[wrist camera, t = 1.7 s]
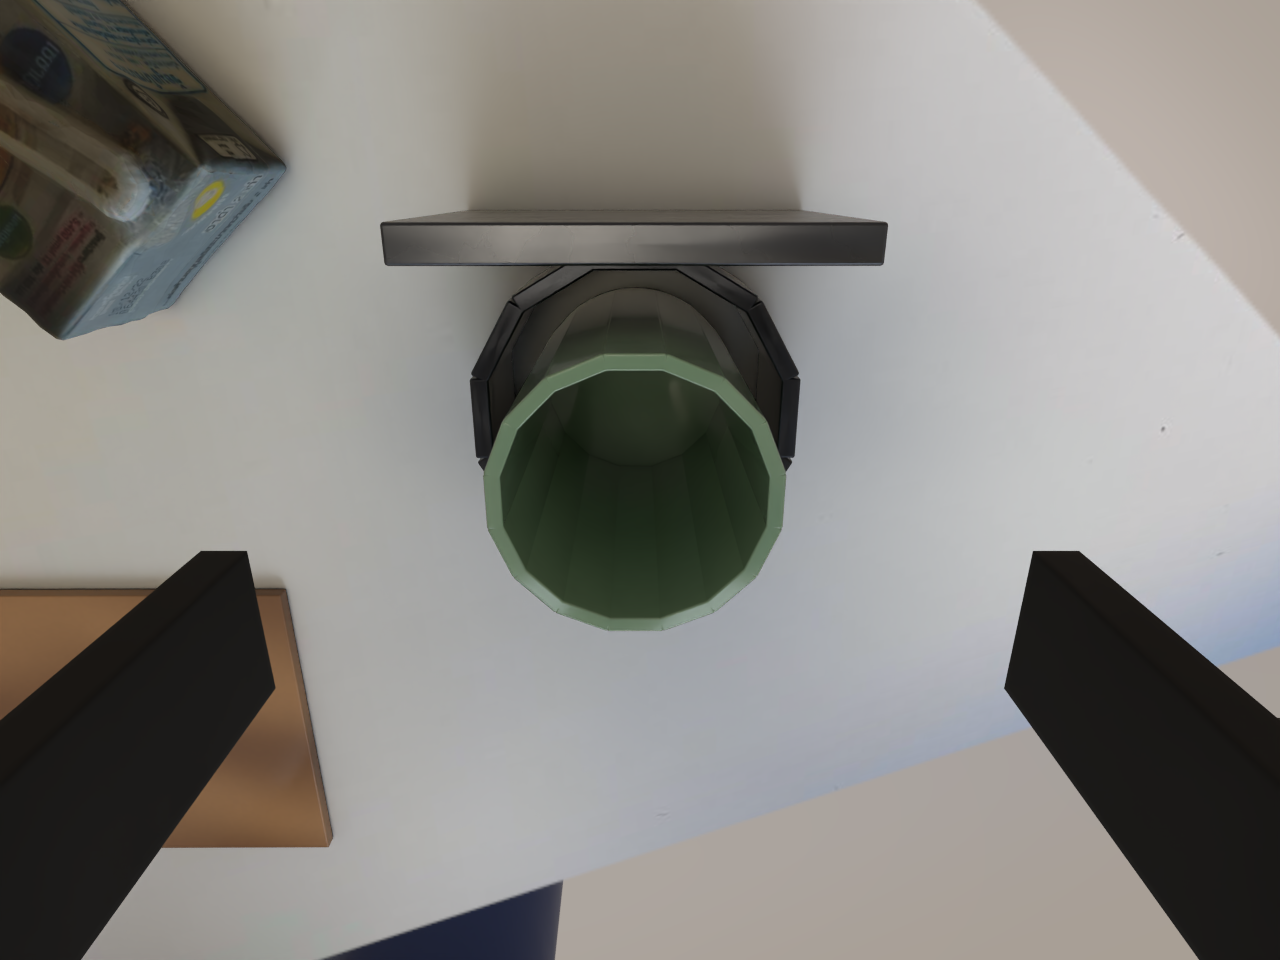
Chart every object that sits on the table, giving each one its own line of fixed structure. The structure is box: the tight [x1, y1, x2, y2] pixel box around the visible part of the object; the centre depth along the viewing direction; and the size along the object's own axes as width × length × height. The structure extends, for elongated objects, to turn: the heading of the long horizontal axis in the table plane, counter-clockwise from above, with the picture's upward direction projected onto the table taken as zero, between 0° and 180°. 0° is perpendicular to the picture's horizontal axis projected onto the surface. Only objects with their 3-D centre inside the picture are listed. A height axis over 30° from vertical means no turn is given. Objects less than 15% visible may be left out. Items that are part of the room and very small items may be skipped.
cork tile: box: [0, 589, 333, 848], centre depth 35 cm, size 14×14×1 cm
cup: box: [483, 288, 786, 631], centre depth 24 cm, size 7×7×12 cm
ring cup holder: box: [380, 210, 888, 471], centre depth 25 cm, size 12×12×10 cm
